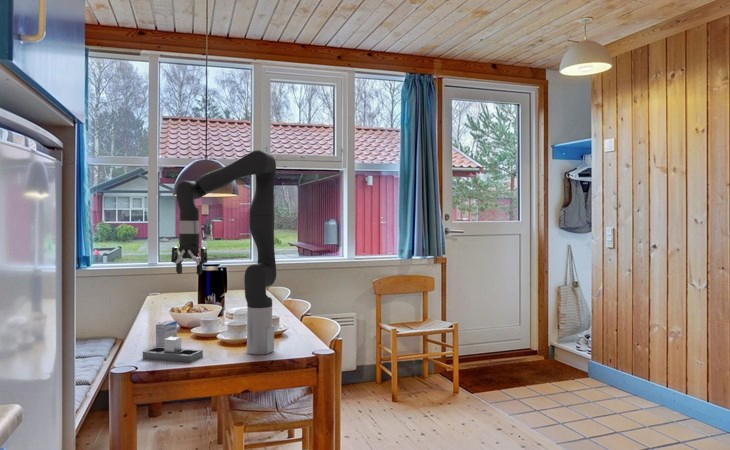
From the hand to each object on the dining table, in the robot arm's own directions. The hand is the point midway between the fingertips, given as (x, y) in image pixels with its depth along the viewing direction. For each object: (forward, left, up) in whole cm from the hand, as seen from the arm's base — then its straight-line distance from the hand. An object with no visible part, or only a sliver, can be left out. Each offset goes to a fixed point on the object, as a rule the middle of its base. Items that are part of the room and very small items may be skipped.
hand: (189, 274), depth 200 cm
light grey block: (-4, +16, -28) cm, 33 cm away
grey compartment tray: (-4, +16, -28) cm, 33 cm away
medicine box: (+10, 0, -28) cm, 30 cm away
